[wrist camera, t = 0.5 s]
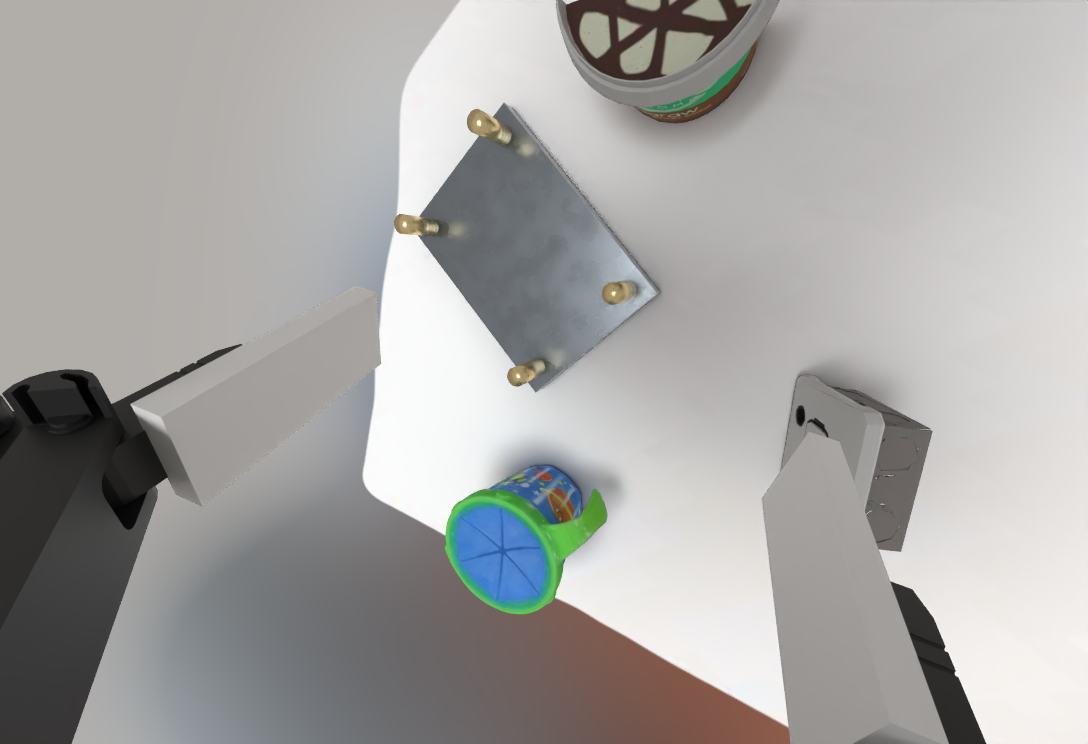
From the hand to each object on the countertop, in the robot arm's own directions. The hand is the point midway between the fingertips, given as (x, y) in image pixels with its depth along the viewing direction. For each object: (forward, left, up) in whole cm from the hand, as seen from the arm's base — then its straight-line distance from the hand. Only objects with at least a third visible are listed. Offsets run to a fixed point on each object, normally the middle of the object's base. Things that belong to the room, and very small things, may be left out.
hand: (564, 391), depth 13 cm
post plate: (+7, -12, -24) cm, 28 cm away
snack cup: (+21, +7, -25) cm, 33 cm away
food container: (-10, -12, -25) cm, 29 cm away
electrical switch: (-3, +14, -25) cm, 28 cm away
